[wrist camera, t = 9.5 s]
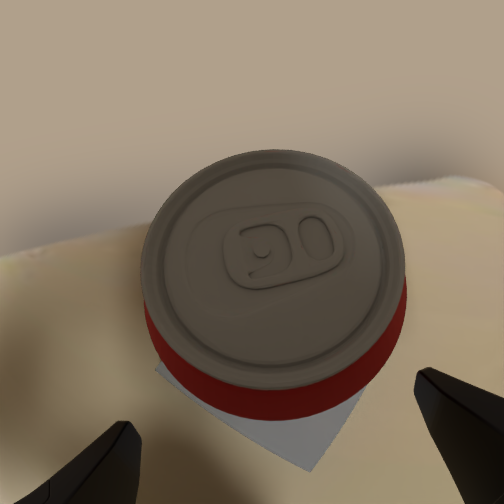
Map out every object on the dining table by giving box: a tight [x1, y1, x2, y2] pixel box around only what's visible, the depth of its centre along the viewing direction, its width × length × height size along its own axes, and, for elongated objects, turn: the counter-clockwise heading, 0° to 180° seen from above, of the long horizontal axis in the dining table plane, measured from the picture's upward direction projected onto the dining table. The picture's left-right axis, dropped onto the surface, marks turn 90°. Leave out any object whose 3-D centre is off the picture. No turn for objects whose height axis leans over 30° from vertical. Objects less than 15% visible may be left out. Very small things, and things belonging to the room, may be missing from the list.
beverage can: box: [140, 149, 407, 421], centre depth 11 cm, size 7×7×12 cm
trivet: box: [155, 361, 367, 472], centre depth 17 cm, size 11×11×1 cm
